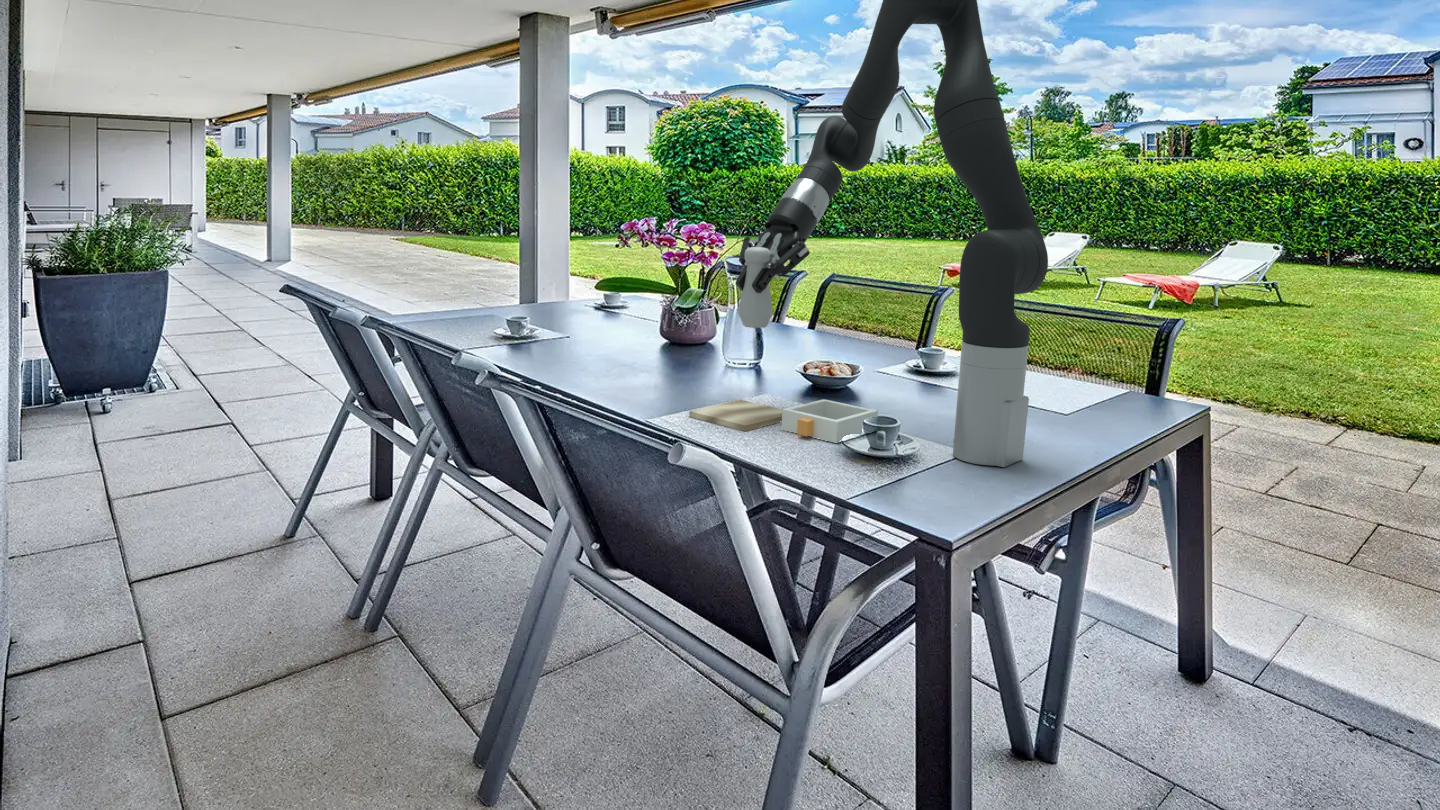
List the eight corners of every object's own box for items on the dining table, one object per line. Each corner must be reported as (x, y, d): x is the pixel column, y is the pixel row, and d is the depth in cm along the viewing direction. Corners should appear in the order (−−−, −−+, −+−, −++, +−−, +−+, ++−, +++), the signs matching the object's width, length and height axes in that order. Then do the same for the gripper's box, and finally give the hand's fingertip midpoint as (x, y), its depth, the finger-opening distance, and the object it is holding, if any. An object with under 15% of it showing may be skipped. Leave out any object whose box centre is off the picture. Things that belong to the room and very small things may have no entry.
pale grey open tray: (876, 431, 146) (877, 410, 145) (829, 445, 137) (830, 423, 136) (822, 419, 153) (823, 399, 152) (775, 431, 144) (775, 410, 143)
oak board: (796, 418, 153) (796, 412, 153) (745, 431, 144) (745, 425, 144) (740, 404, 162) (740, 399, 162) (689, 416, 153) (689, 411, 153)
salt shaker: (741, 329, 146) (743, 248, 143) (734, 323, 152) (736, 246, 148) (776, 328, 147) (779, 249, 144) (767, 323, 153) (770, 246, 149)
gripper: (758, 194, 154) (706, 269, 149) (822, 197, 144) (769, 277, 139) (777, 225, 159) (727, 298, 154) (840, 229, 149) (790, 308, 144)
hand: (748, 288), depth 146 cm, fingers closed on salt shaker, 3 cm apart
